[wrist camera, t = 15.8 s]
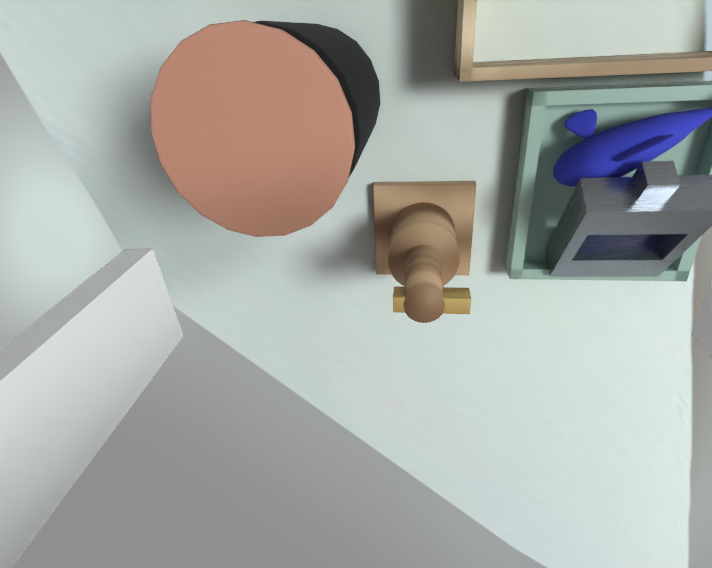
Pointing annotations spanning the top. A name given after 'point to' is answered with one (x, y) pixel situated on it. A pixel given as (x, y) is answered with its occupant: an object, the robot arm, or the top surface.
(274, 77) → the coffee jar
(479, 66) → the crate
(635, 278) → the tray
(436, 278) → the handle
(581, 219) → the gray rectangular frame
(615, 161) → the fish toy
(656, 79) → the top surface
